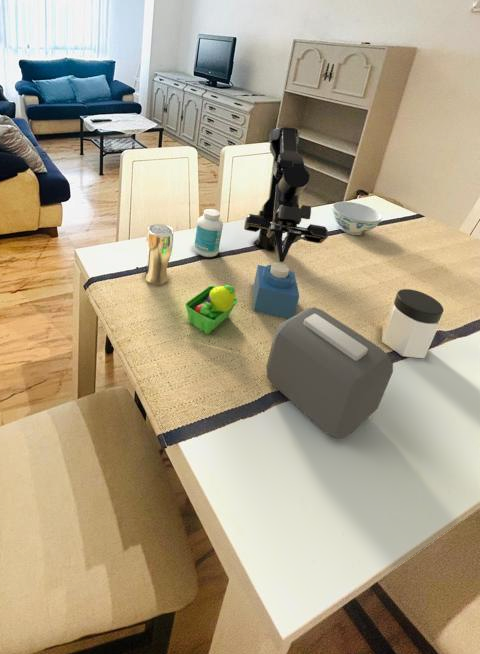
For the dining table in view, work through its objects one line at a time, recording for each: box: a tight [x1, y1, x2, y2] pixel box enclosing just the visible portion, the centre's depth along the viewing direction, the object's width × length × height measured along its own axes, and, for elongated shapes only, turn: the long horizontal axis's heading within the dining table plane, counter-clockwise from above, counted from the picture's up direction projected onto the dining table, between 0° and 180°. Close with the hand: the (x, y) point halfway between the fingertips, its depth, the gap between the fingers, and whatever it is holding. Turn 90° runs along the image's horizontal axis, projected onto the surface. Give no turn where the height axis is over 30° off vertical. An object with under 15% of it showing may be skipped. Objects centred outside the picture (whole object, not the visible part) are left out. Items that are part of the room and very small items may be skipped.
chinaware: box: [332, 201, 383, 236], centre depth 135 cm, size 15×15×8 cm
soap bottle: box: [252, 264, 300, 320], centre depth 96 cm, size 10×9×9 cm
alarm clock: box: [265, 306, 394, 439], centre depth 69 cm, size 16×11×16 cm
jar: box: [381, 288, 444, 359], centre depth 84 cm, size 9×8×12 cm
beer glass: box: [144, 223, 174, 286], centre depth 102 cm, size 7×7×15 cm
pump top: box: [270, 262, 290, 279], centre depth 94 cm, size 4×4×2 cm
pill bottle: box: [193, 208, 224, 258], centre depth 116 cm, size 8×7×14 cm
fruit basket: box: [185, 284, 239, 335], centre depth 88 cm, size 11×9×11 cm
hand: (281, 261), depth 93 cm, fingers closed
